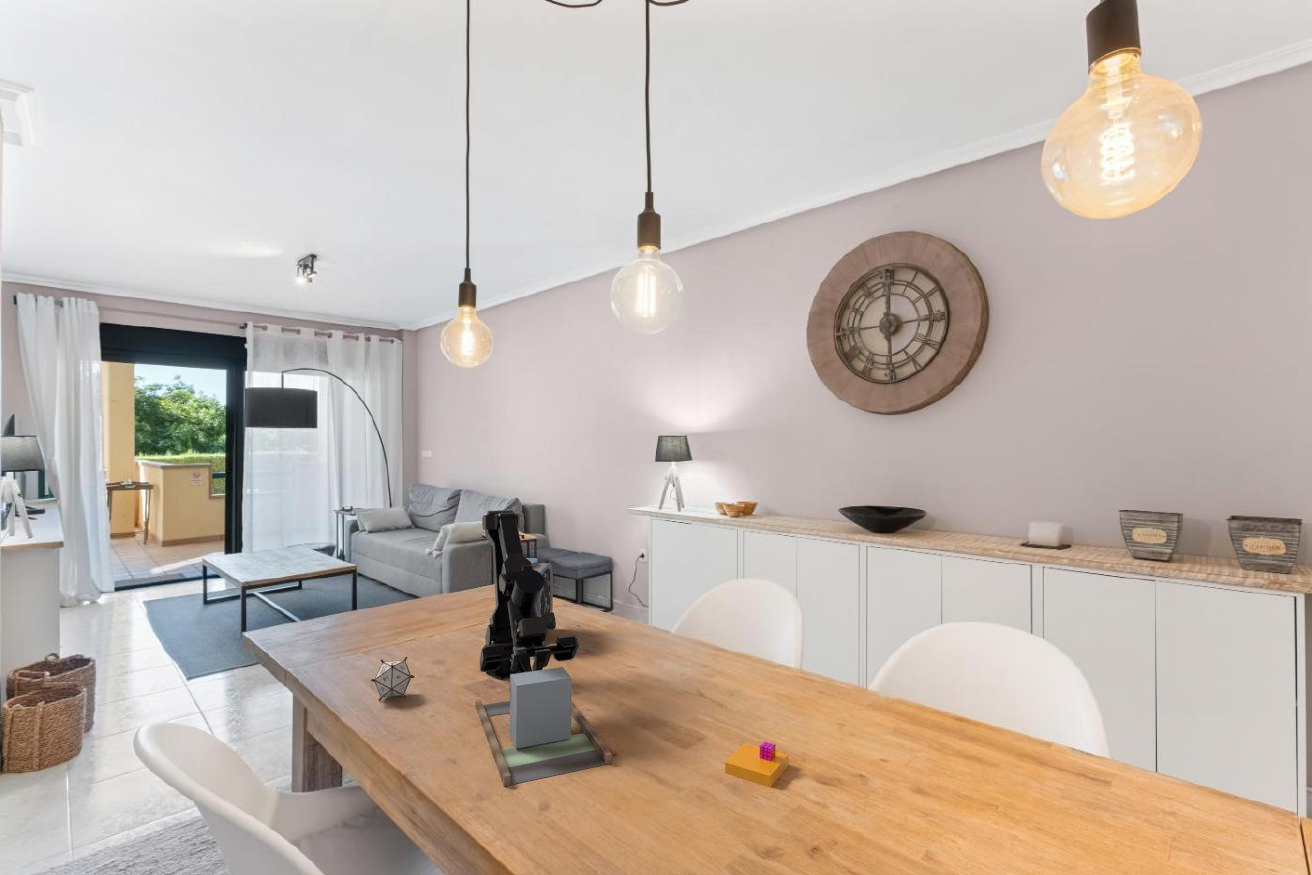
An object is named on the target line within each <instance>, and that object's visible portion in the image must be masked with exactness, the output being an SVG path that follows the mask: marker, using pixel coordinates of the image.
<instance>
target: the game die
mask: <svg viewBox="0 0 1312 875" xmlns="http://www.w3.org/2000/svg"><path fill="white" fill-rule="evenodd" d="M407 660H408V656H406V657H404V659H403V660H402V659H401V660H391V661H384V659H382V658H380V662H381V665H380V667H379V668H378V671H377V673H376V675H375V677H374V678H371V679H370V681H369V682H373V683H374V684H375V687H376V689H377V691H378V693H379V696H380V697H379V698H378V702H380V701H382V699H383V698H391V697H398V696H402V697H403V698H404V699H407V695H406V691H407V689H408V687H409V684H410V681H411V680H412V679H414V678H416V676H415V675H414V674H411V671H410V669H409V666H408V664H407Z"/></svg>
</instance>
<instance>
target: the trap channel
mask: <svg viewBox="0 0 1312 875" xmlns="http://www.w3.org/2000/svg"><path fill="white" fill-rule="evenodd" d="M474 701H475V702H474V703H475V705H474V706H475V710H476V713H477V715H478V718H479V721H480V724H481V726H482V729H483V733H484V735H485V737H486V740H487V743H488V746H489V748H490V750H491V754H492V756H493V759H494V763H495V765H496V767H497V771H498V773H499V776H500V779H501V782H502V785H503V787H507V786H512V785H515V784H516V785H517V784H520V783H527V782H530V781H535V780H541V779H545V778H549V777H554V776H559V775H564V774H567V773H572V772H578V771H581V770H585V769H586V770H587V769H590V768H596V767H600V766H606V765H610V764H612V763H613V754H612V752H611V751H610V749H609V748H608V746H606V744H605V742H604V741H603V740H602V739H601V738H600V736H599V735H598V734H597V733H596V731H595V730H594V728H593V727H592V725H591V724H590V723H589V721H588V720H587V719H586V718H585V716H584V715H583V714H582V712H581V710H579V708H578V707H577V706H576V704H575V703H574V702H573V699H571V718H573V720H574V721H575V723H576V724H577V725H578V726H579V728H580V729H581V731H582V732H583V733H582V732H581V733H578V734H571V738H570V739H565V740H560V741H554V742H549V743H544V744H539V745H534V746H528V747H523V748H518V749H516V748H515V745H514V746H508V747H503V748H501V747H500V744H499V742H498V740H497V737H496V734H495V732H494V729H493V727H492V724H491V722H490V719H489V718H488V717H492V716H493V717H494V716H499V715H505V714H510V700H506V701H499V702H495V703H494V702H493V703H488V704H487V703H486V704H483V702H482V699H481V698H479V697H478V698H475V700H474Z"/></svg>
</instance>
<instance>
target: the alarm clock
mask: <svg viewBox="0 0 1312 875" xmlns="http://www.w3.org/2000/svg"><path fill="white" fill-rule="evenodd" d="M526 558H527V559H528V560H529V561H531V563H532V566H533V570H536V571H538V572H540V573H541V574H542V576H543V577H544V579H545V583H544V587H543V590H542V593H541V597H540V600H539V603H538V604H536V607H537V612H538V617H543V615H544V614H545V613H551V612H553V607H554V606H553V605H554V604H553V602H554V601H553V600H554V598H553V597H554V596H553V595H554V594H553V593H554V574H553V571H554V570H553V565H552V564H551V563H549V562H548V563H547V562H545V563H544V562H543V563H541V562H540V563H539V559H538V558H536V557H526Z"/></svg>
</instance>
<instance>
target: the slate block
mask: <svg viewBox="0 0 1312 875" xmlns="http://www.w3.org/2000/svg"><path fill="white" fill-rule="evenodd" d="M572 679H573V678H572V677H571V675H570V674H569V672H568V671H567V670H566V669H565V668H564V667H563V666H560V667H554V668H547V669H543V670H538V671H533V670H532V671H531V672H524V673H517V674H510V678H509V701H510V713H509V736H510V738H511V740H512V743H513V745H514V746H515V748H516V749H518V748H523V747H528V746H534V745H539V744H544V743H549V742H554V741H560V740H565V739H570V738H571V735H572V715H571V700H572V683H573V682H572V681H573V680H572Z"/></svg>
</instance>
